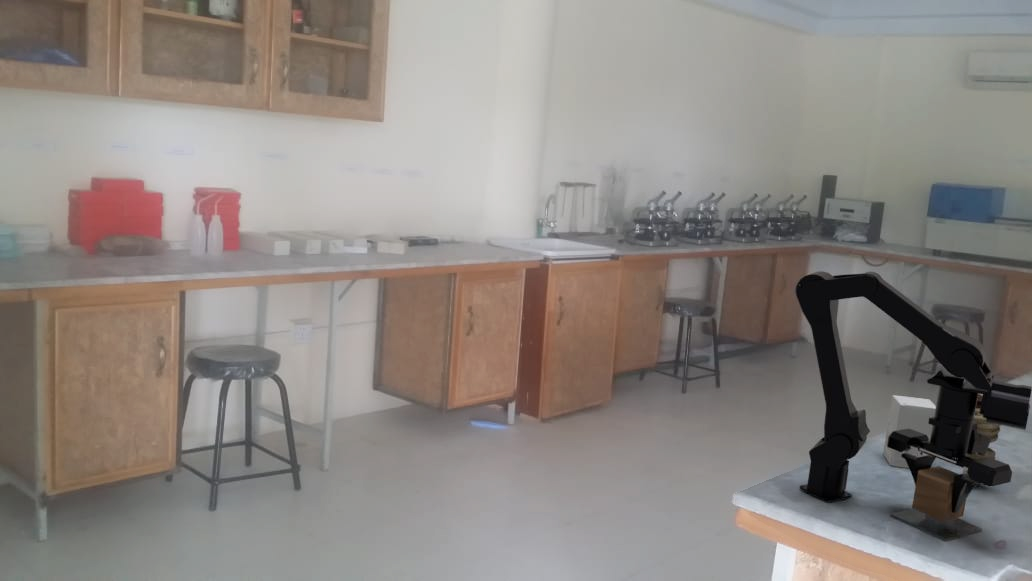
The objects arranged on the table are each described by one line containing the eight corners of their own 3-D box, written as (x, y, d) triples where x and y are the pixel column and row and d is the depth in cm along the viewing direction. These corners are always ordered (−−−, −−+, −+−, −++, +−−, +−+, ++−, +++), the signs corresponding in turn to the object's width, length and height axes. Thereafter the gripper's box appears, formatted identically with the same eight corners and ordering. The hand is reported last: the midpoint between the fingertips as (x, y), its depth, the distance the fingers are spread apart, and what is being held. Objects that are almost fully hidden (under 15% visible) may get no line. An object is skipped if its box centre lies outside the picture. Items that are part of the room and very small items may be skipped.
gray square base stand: (945, 541, 141) (952, 499, 140) (890, 515, 149) (896, 476, 148) (981, 530, 146) (989, 490, 145) (926, 506, 155) (933, 468, 153)
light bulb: (988, 493, 163) (1002, 415, 161) (955, 485, 166) (969, 408, 164) (990, 485, 168) (1004, 408, 166) (958, 477, 171) (972, 402, 168)
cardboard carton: (942, 521, 144) (949, 483, 143) (911, 507, 148) (918, 470, 147) (963, 516, 147) (970, 478, 146) (932, 502, 151) (938, 466, 150)
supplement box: (929, 471, 173) (940, 409, 170) (889, 466, 174) (899, 404, 172) (920, 459, 180) (930, 398, 178) (881, 453, 181) (891, 393, 179)
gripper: (1039, 428, 141) (1021, 520, 144) (931, 394, 157) (917, 478, 159) (999, 435, 135) (981, 531, 138) (892, 399, 151) (877, 486, 153)
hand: (938, 505), depth 147 cm, fingers closed on cardboard carton, 5 cm apart
